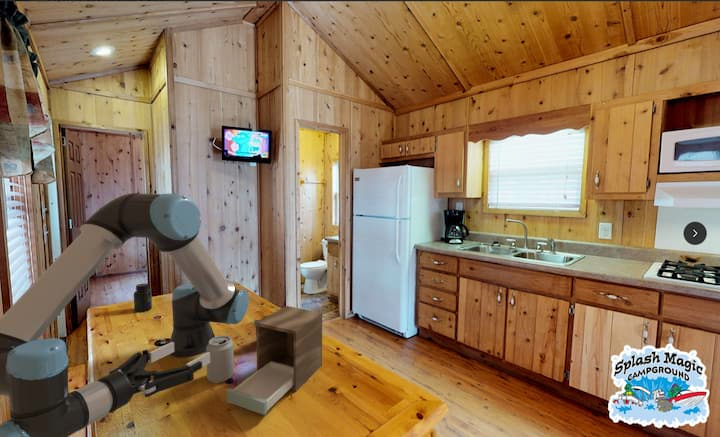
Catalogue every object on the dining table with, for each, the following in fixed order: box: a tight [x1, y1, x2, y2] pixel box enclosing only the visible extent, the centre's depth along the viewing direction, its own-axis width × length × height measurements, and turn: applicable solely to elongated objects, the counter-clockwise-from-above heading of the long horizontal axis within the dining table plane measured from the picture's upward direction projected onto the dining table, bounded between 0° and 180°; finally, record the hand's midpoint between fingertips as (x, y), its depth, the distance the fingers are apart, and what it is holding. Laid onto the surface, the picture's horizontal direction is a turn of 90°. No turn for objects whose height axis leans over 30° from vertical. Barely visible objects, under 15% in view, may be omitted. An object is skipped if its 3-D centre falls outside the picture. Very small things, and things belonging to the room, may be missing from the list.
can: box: [205, 335, 235, 384], centre depth 96 cm, size 8×8×12 cm
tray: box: [226, 361, 294, 416], centre depth 89 cm, size 12×18×3 cm
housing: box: [256, 305, 323, 392], centre depth 99 cm, size 14×15×18 cm
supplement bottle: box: [133, 283, 153, 313], centre depth 147 cm, size 7×7×12 cm
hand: (190, 351), depth 86 cm, fingers open, 13 cm apart
